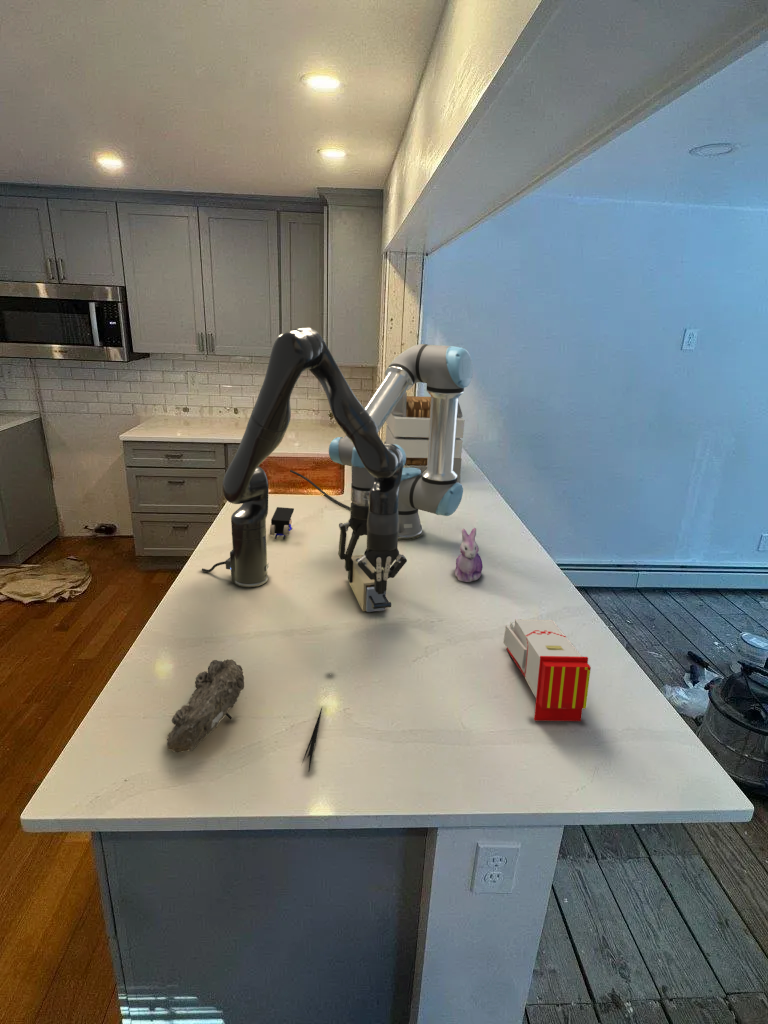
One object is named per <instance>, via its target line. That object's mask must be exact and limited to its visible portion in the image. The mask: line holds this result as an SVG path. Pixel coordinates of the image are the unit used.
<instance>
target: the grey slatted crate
mask: <svg viewBox="0 0 768 1024" xmlns="http://www.w3.org/2000/svg"><path fill="white" fill-rule="evenodd" d="M407 394H408V393H407V390H406V391H405V392H404V394H403V395H402V397H401V399H400V400H399V402H398V403H397V405H396V406H395V408H394V409H393V411H392V412H391V414H390V415H389V417H388V418H387V420H386V422H385V423H386V428H385V438H384V442H383V444H395V445H399V446H400V447H401V448H402V449H403V450H404V452H405V454H406V462H405V465H404V466H403V468H405V466H406V467H407V466H411V467H412V466H413V467H415V466H416V467H417V466H418V467H427V458H428V440H429V422H430V405H431V396H415V395H414V396H413V395H412V396H411V395H407ZM464 429H465V419H464V418H463V411H462V408H461V405H460V402H459V401H458V410H457V424H456V437H455V451H454V465H453V471H454V472H455V473H456V474H457V483H461V472H462V461H463V460H462V453H463V442H464V441H463V440H462V439H463V438H464V431H465V430H464Z"/></svg>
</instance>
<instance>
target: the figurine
mask: <svg viewBox="0 0 768 1024" xmlns="http://www.w3.org/2000/svg"><path fill="white" fill-rule="evenodd" d="M476 536H477V528H476V527H474V528H472V529H471V531H470V533H469V534H468V532H467V530H466V529H465V528H462V529H461V544H460V546H459V552H460V554H459V555H458V556H457V557H456V560H455V569H454V576H455V577H456V578H457V580H458V581H460V582H465V583H471V582H473V581H477V580H478V579H480V578H481V575H482V572H483V568H484V567H483V560H482V557H481V555H480V554H479V551H480V549H479V545H478V543H477V540H476Z"/></svg>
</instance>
